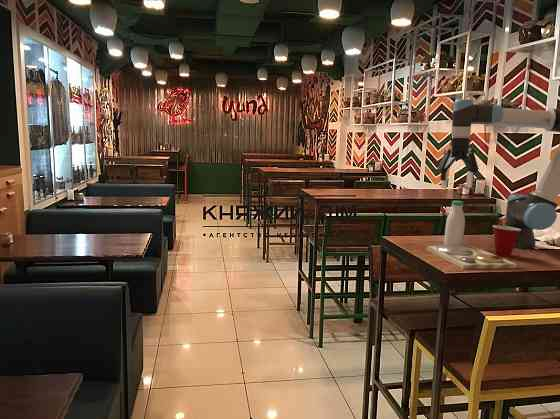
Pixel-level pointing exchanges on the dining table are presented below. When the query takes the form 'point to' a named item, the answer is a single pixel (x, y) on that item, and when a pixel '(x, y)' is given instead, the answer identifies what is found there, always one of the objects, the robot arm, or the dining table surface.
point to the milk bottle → (455, 225)
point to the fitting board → (478, 264)
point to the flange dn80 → (489, 258)
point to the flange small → (468, 260)
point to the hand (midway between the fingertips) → (456, 187)
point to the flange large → (454, 250)
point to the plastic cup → (504, 239)
